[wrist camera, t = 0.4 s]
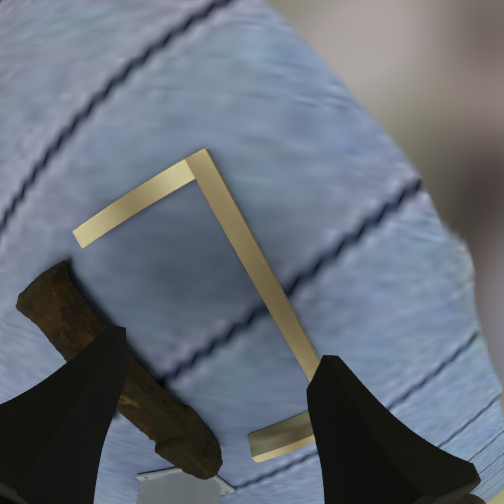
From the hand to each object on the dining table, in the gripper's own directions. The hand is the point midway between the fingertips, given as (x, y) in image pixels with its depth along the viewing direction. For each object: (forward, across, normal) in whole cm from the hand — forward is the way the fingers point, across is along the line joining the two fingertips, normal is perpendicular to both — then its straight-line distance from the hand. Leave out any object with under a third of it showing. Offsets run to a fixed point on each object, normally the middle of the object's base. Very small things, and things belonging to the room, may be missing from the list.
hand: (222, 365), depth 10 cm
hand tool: (+10, +5, +12) cm, 16 cm away
